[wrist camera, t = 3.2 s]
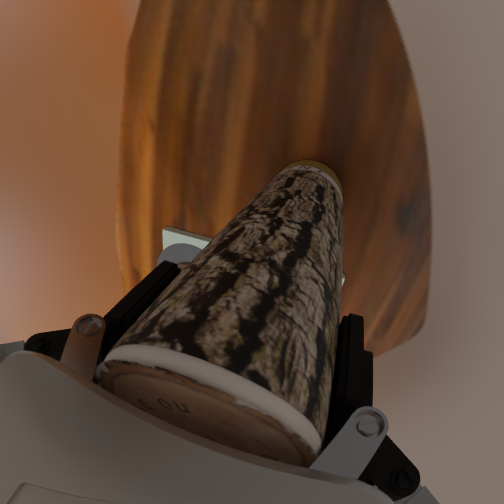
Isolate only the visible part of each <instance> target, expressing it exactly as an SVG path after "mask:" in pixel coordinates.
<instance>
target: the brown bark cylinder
mask: <svg viewBox="0 0 504 504" xmlns="http://www.w3.org/2000/svg"><path fill="white" fill-rule="evenodd" d="M342 267H343V193H342V187H341V183H340V181H339V179H338V177H337V176H336V174H335V173H334V172H333V171H332V170H331V169H330V168H329V167H327V166H326V165H324V164H322V163H320V162H317V161H313V160H301V161H296V162H294V163H292V164H290V165H288V166H287V167H285V168H284V169H283V170H282V171H281V172H280V173H279V174H278V175H277V176H275V177H274V178H273V179H272V180H271V181H270V182H269V183H268V184H267V185H266V186H265V187H264V188H263V189H262V190H261V191H260V192H259V193H258V194H257V195H256V196H255V197H254V198H253V199H252V200H251V201H250V202H249V203H248V204H247V205H246V206H245V207H244V208H243V209H242V210H241V211H240V212H239V213H238V214H237V215H236V216H235V217H234V218H233V219H232V220H231V221H230V222H229V223H228V224H227V225H226V226H225V227H224V228H223V229H222V230H221V231H220V232H219V233H218V234H217V235H216V236H215V237H214V238H213V239H212V240H211V241H210V242H209V243H208V245H207V246H206V247H205V248H204V249H203V250H202V251H201V252H200V253H199V254H198V255H197V256H196V257H195V258H194V259H193V260H192V261H191V262H190V263H189V264H188V265H187V266H186V267H185V269H184V270H183V271H182V272H181V273H180V274H179V275H178V276H177V277H176V278H175V279H174V280H173V281H172V282H171V283H170V285H169V286H168V287H167V288H166V289H165V290H164V291H163V292H162V293H161V294H160V295H159V296H158V297H157V299H156V300H155V301H154V302H153V303H152V304H151V305H150V306H149V307H148V308H147V309H146V311H145V312H144V313H143V314H142V315H141V316H140V317H139V318H138V319H137V321H136V322H135V323H134V324H133V325H132V326H131V327H130V328H129V329H128V331H127V332H126V333H125V334H124V335H123V336H122V337H121V339H120V340H119V341H118V342H117V343H116V344H115V345H114V346H113V348H112V349H111V350H110V351H109V352H108V354H107V355H106V357H105V360H104V362H102V363H101V364H100V365H99V366H98V367H97V369H96V376H97V378H98V380H99V383H98V386H99V387H101V388H103V389H104V390H106V391H108V392H109V393H111V394H113V395H115V396H116V397H118V398H120V399H122V400H123V401H125V402H127V403H129V404H131V405H133V406H135V407H137V408H138V409H140V410H142V411H144V412H146V413H148V414H150V415H152V416H154V417H157V418H159V419H161V420H163V421H165V422H167V423H169V424H172V425H174V426H176V427H178V428H181V429H183V430H185V431H188V432H190V433H193V434H195V435H198V436H200V437H203V438H205V439H208V440H211V441H213V442H216V443H219V444H222V445H225V446H228V447H231V448H234V449H237V450H240V451H243V452H246V453H249V454H253V455H256V456H260V457H263V458H267V459H271V460H275V461H279V462H283V463H286V464H291V465H295V466H299V467H304V468H308V467H309V466H310V465H311V464H312V463H313V462H314V461H315V460H316V459H317V458H318V456H319V455H320V453H321V451H322V447H323V442H324V437H325V431H326V425H327V420H328V413H329V407H330V401H331V394H332V387H333V379H334V371H335V362H336V353H337V343H338V333H339V321H340V307H341V290H342Z"/></svg>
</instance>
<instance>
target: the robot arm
mask: <svg viewBox="0 0 504 504" xmlns="http://www.w3.org/2000/svg"><path fill="white" fill-rule="evenodd" d="M180 273H181V269H180V268H178V265H177V264H176V263H173V262H170V261H167V260H164V261H163V262H161V263H160V264H159V265H158V266H157V267H156V268H155V269H154V270H153V271H152V272H151V273H150V274H148V275H147V276H146V277H145V278H144V279H143V280H142V281H141V282H140V283H139V284H137V285H136V286H135V287H134V288H133V289H132V290H131V291H130V292H129V293H128V294H127V295H126V296H125V297H124V298H123V299H121V300H120V301H119V302H118V303H117V304H116V305H115V306H114V307H113V308H112V309H111V310H110V311H109V312H108V313H107V314H106V315H105V316H104V317H103V318H102V317H101V316H99V315H97V314H86V315H83V316H81V317H79V318H78V319H77V320H76V321H75V322H74V324H73V326H72V328H71V329H65V330H58V331H51V332H44V333H38V334H35V335H33V336H31V337H30V338H29V339H28V340H27V342H26V343H25V342H24V340H23V341H18V342H12V343H6V344H0V504H439V503H438V501H437V500H436V499H435V498H434V496H433V495H432V494H431V493H430V491H429V490H428V489H427V488H426V486H424V487H422V486H421V485H420V484H419V483H420V474H419V471H418V469H417V468H416V467H415V466H414V465H413V463H412V462H411V461H410V460H409V459H408V458H407V457H406V456H405V455H404V454H403V452H402V451H401V450H400V449H399V448H398V447H397V446H396V445H395V444H394V443H393V441H392V440H391V439H390V438H389V437H388V436H387V435H386V434H387V431H388V420H387V418H386V416H385V415H384V413H382V412H381V411H380V410H379V409H377V408H374V407H372V404H373V402H372V401H373V354H372V352H369V351H365V350H364V319H363V317H362V316H358V315H355V314H351V313H350V314H349V316H344V317H343V318H342V321H341V323H340V325H339V333H338V343H337V353H336V362H335V371H334V379H333V387H332V394H331V401H330V407H329V413H328V420H327V425H326V431H325V437H324V442H323V447H322V451H321V453H320V455H319V456H318V458H317V459H316V460H315V461H314V462H313V463H312V464H311V465H310V466H309V467H308V468H304V467H299V466H295V465H291V464H286V463H283V462H279V461H275V460H271V459H267V458H263V457H260V456H256V455H253V454H249V453H246V452H243V451H240V450H237V449H234V448H231V447H228V446H225V445H222V444H219V443H216V442H213V441H211V440H208V439H205V438H203V437H200V436H198V435H195V434H193V433H190V432H188V431H185V430H183V429H181V428H178V427H176V426H174V425H172V424H169V423H167V422H165V421H163V420H161V419H159V418H157V417H154V416H152V415H150V414H148V413H146V412H144V411H142V410H140V409H138V408H137V407H135V406H133V405H131V404H129V403H127V402H125V401H123V400H122V399H120V398H118V397H116V396H115V395H113V394H111V393H109V392H108V391H106V390H104V389H103V388H101V387H99V386H98V383H99V380H98V378H97V376H96V369H97V367H98V366H99V365H100V364H101V363H102V362H104V360H105V357H106V355H107V354H108V352H109V351H110V350H111V349H112V348H113V346H114V345H115V344H116V343H117V342H118V341H119V340H120V339H121V337H122V336H123V335H124V334H125V333H126V332H127V331H128V329H129V328H130V327H131V326H132V325H133V324H134V323H135V322H136V321H137V319H138V318H139V317H140V316H141V315H142V314H143V313H144V312H145V311H146V309H147V308H148V307H149V306H150V305H151V304H152V303H153V302H154V301H155V300H156V299H157V297H158V296H159V295H160V294H161V293H162V292H163V291H164V290H165V289H166V288H167V287H168V286H169V285H170V283H171V282H172V281H173V280H174V279H175V278H176V277H177V276H178V275H179V274H180Z"/></svg>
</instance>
